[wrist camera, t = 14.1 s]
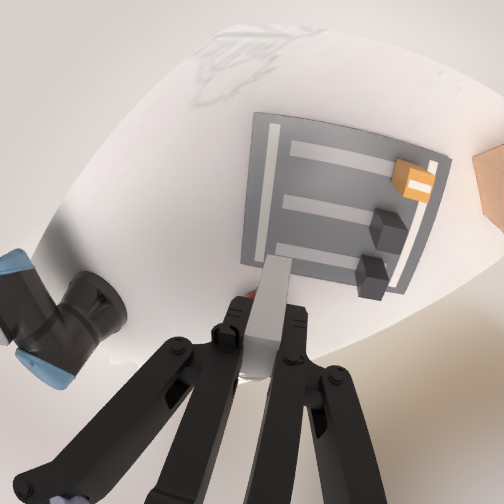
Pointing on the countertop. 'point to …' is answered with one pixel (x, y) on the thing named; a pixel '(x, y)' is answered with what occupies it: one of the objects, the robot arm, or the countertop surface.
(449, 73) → the countertop surface
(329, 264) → the panel
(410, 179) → the shipping carton with label
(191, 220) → the countertop surface
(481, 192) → the soap dispenser
